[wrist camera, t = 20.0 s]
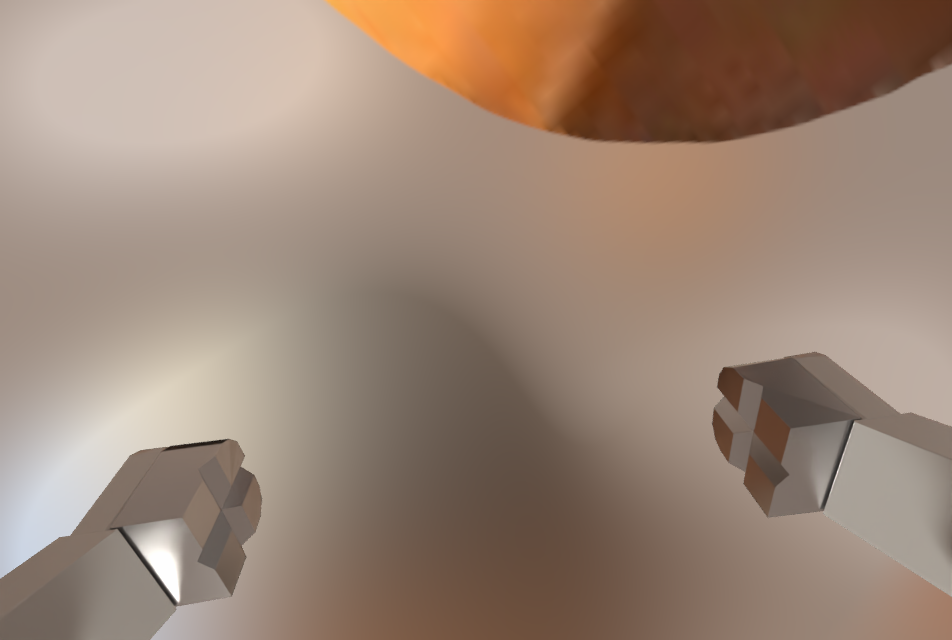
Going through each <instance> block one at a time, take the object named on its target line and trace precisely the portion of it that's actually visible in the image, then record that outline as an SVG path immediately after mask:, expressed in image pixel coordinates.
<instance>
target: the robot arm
mask: <svg viewBox="0 0 952 640" xmlns="http://www.w3.org/2000/svg"><path fill="white" fill-rule="evenodd" d="M717 388H718V389H719V390H720V391H721V392H722V394H723V395H724V397H723V398H722V399H721V400H720V402H719V403H718V404H717V405H716V406H715V407H714V411H713V421H712V425H713V430H714V435H715V440H716V442H717V444H718V446H719V449H720V451H721V452H722V454H723V455H724V457H725V458H726V460H727V461H728V462H729V463H730V464H732V465H734V466H736V467H737V468H739V469H741V470H743V471H745V477H744V483H743V484H744V485H745V487H746V488H747V489H748V491H749V492H750V494H751V495H752V496H753V498H754V499H755V501H756V502H757V503H758V505H759V506H760V507H761V509H762V510H763V512H764V513H765V514H766V516H767V517H777V516H785V515H792V514H801V513H810V512H818V511H824V512H823V514H824V515H826V516H827V517H829V518H830V519H832V520H833V521H835V522H837V523H838V524H840V525H841V526H843V527H844V528H846V529H847V530H849V531H850V532H852V533H854V534H855V535H857V536H858V537H860V538H861V539H863V540H864V541H866V542H868V543H869V544H871V545H872V546H874V547H875V548H877V549H878V550H880V551H881V552H883V553H885V554H886V555H888V556H889V557H891V558H892V559H894V560H895V561H897V562H899V563H900V564H902V565H903V566H905V567H906V568H908V569H910V570H911V571H913V572H914V573H916V574H917V575H919V576H920V577H922V578H923V579H925V580H927V581H928V582H930V583H931V584H933V585H934V586H936V587H937V588H939V589H940V590H942V591H943V592H945V593H947V594H948V595H950V596H951V597H952V427H951V426H948V425H945V424H942V423H939V422H937V421H934V420H931V419H928V418H925V417H922V416H919V415H916V414H914V413H905V414H900V413H899V412H897V411H896V410H895V409H894V408H892V407H891V406H890V405H889V404H887V403H886V402H884V401H883V400H882V399H881V398H880V397H878V396H877V395H876V394H874V393H873V392H871V390H869V389H868V388H867V387H866V386H864V385H863V384H862V383H860V382H859V381H858V380H857V379H855V378H854V377H853V376H851V375H850V374H849V373H847V372H846V371H845V370H844V369H843V368H841V367H840V366H839V365H837V364H836V363H835V362H833V361H832V360H831V359H830V358H829V357H827V356H826V355H823V354H820V353H817V352H812V353H806V354H800V355H794V356H788V357H784V358H782V359H774V360H768V361H762V362H754V363H748V364H741V365H734V366H728V367H724V368H723V369H722V371H721V372H720V374H719V378H718V385H717ZM244 457H245V455H244V453H243V451H242V449H241V448H240V446H239V444H238V442H237V441H234V440H231V439H224V440H216V441H208V442H199V443H191V444H183V445H175V446H170V447H162V448H154V449H146V450H140V451H138V452H136V453H134V454H132V455H130V456H129V458H128V459H127V460H126V462H125V463H124V464H123V466H122V467H121V468H120V470H119V471H118V472H117V474H116V475H115V477H114V478H113V479H112V481H111V482H110V483H109V485H108V486H107V487H106V488H105V490H104V491H103V492H102V494H101V495H100V496H99V498H98V499H97V500H96V502H95V503H94V505H93V506H92V507H91V509H90V510H89V511H88V513H87V514H86V515H85V517H84V518H83V519H82V521H81V522H80V523H79V525H78V526H77V527H76V529H75V530H74V531H73V533H72V534H71V535H70V536H66V537H59V538H58V539H57V540H55V541H54V542H52V543H51V544H49V545H48V546H47V547H45V548H44V549H42V550H41V551H40V552H38V553H37V554H35V555H34V556H32V557H31V558H29V559H28V560H27V561H25V562H24V563H23V564H21V565H20V566H18V567H17V568H15V569H14V570H12V571H11V572H10V573H8V574H7V575H5V576H4V577H2V578H1V579H0V640H150V639H151V638H152V637H153V636H154V635H155V634H156V632H157V631H158V630H159V629H160V628H161V627H162V625H163V624H164V623H165V622H166V621H167V620H168V619H169V618H170V616H171V615H172V614H173V613H174V612H175V611H176V606H182V605H187V604H193V603H199V602H204V601H210V600H216V599H221V598H227V597H232V595H233V592H234V589H235V586H236V584H237V581H238V578H239V576H240V573H241V570H242V568H243V565H244V562H245V559H246V555H245V553H244V550H243V548H242V545H243V544H244V543H245V542H246V541H247V540H248V539H249V538H250V537H251V536H252V535H253V534H254V533H255V532H256V529H257V526H258V523H259V520H260V517H261V505H262V497H261V492H260V487H259V484H258V482H257V480H256V477H255V476H254V475H253V474H252V473H250V472H249V471H247V470H245V469H244V468H242V467H241V464H242V462H243V459H244Z"/></svg>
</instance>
